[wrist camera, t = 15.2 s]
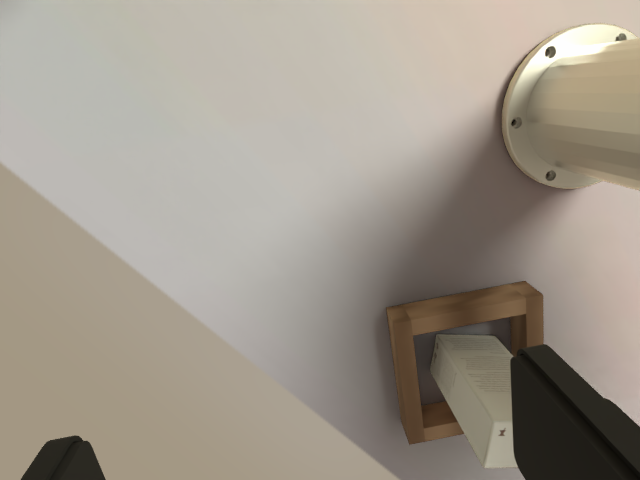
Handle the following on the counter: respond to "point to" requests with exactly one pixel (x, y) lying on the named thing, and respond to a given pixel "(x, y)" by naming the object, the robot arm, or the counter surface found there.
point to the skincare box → (478, 393)
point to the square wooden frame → (446, 314)
